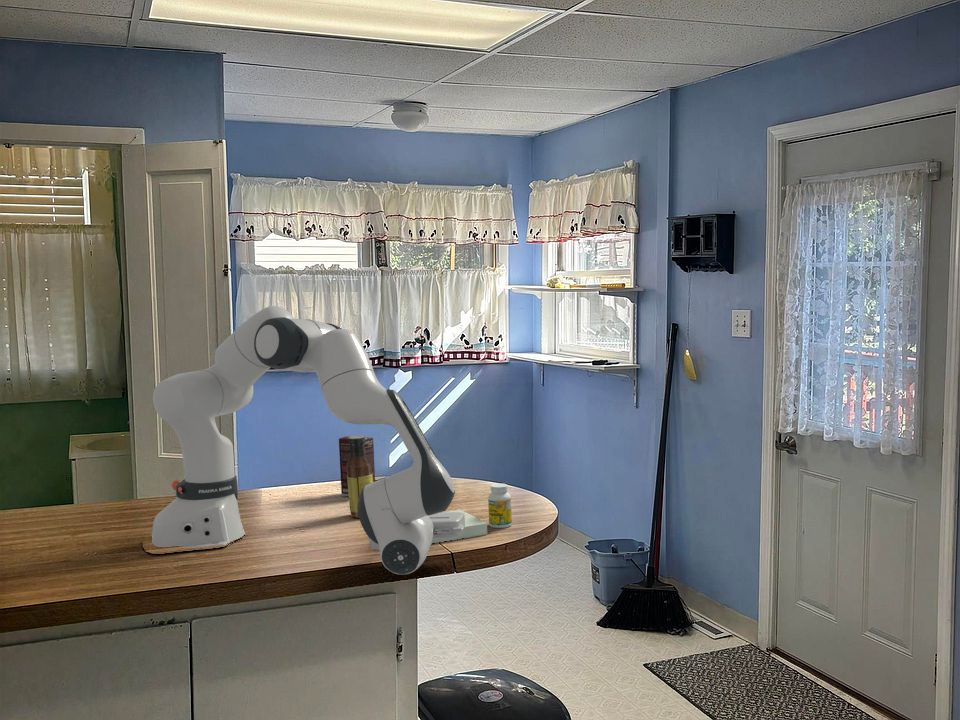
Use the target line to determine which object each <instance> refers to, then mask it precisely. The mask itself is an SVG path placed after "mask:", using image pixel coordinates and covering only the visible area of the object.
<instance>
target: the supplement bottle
mask: <svg viewBox="0 0 960 720" xmlns="http://www.w3.org/2000/svg"><path fill="white" fill-rule="evenodd" d="M508 487H509V485H508V484H506V483H500V482H499V483H493V484H490V489H489V490H490V492H491V493H489V495H488V497H487V504H488V505H487V506H488V507H487V508H488V524H489V527H491V528H494V529H505V528H509V527H511V526H512V523H513V516H512V514H513V513H512V496H511V494H510V493H509V492H508V491H509V489H508Z"/></svg>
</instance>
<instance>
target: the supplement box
mask: <svg viewBox="0 0 960 720" xmlns="http://www.w3.org/2000/svg"><path fill="white" fill-rule="evenodd" d="M352 436H353V435H352ZM352 436H351V435H347V436H342V437H340V438H338V447H339V448H338V450H339V454H338V455H339V469H340V470H339V471H340V488H341V489H340V490H341V491H340V492H341V496H342V495H343V496H342V497H347V496H348V497H347V498H349V493H348V481H347V462H348V460H349V458H350V444H349V441H348V438H349V437H352ZM364 437H365V451H366V456H367V458H368V459H369V461H370V463H371V469H372V476H373V482H375V481H376V469H375V451H374V449H375V446H374V437H366V436H364Z"/></svg>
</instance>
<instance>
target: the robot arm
mask: <svg viewBox="0 0 960 720" xmlns="http://www.w3.org/2000/svg"><path fill="white" fill-rule="evenodd" d="M270 369H275V370H284V371H290V372H294V373H296V372H297V373H315V374H316V375H317V378H318V382H319V386H320V390H321V392H322V395H323V398H324V401H325V405H326V406H327V408H328V410H329V412H330V413H331V414H332V415H333V416H334V417H335V418H336V419H338V420H340V421H342V422H345V423H347V424H348V423H349V424H351V425H387V426H390V427H393V428H395V430H396V432H397V434H398V435H399V437H400V438H401V440H402V443H403V444H404V446H405V448H406V449H407V451H408V453H409V455H410V457H411V458H412V460H413V463H412V465H411V467H409V468H406V469H403V470H401V471H399V472H396V473H394V474H391V475H389V476H385V477H383V478H380V479H378V480H375V482H373V483H371V484H368V485H366V486H364V487H363V489H362V491H361V493H360V496H359V500H358V505H357V509H358V516H359V518H358V519H359V521H360V524H361V527H362V529H363V531H364V532H365V534H366V535H367V538H368V542H369V547H370V549H371V550H375V551H379V557H380V560H381V563H382V564H383V566H384V568H385V569H387V570H388V571H389V572H391V573H393V574H396V575H401V576H402V575H410V574H411V573H413V572H415V571H416V570H418V569H419V568H420V567H421V566H423V563H424V562H425V560H426V558H427V556H428V554H429V550H430V548H431V545H432V544H431V543H432V540H433V538H454V537H458V536H460V535H461V534H462V532H463V531H464V529H465V515H464V513H461V512H449V511H447V510H448V508H449V507H450V505H451V503H452V501H453V499H454V497H455V494H456V491H455V486H454V483H453V480H452V477H451V475H450V474H449V472H448V471H447V470H446V468H445V467H444V466H443V464H442V463H441V462H440V460H439V459H438V457H437V455H436V453H435V451H434V450H433V448H432V446H431V445H430V443H429V441H428V440H427V438H426V436H425V434H424V432H423V430H422V429H421V427H420V424H419V423H418V422H417V420H416V419H415V417H414V414H413V413H412V412H411V410H410V408H409V406H408V405H407V404H406V402H405V401H404V399H403V398H402V397H401V395H399V393H398V392H396V391H395V390H394V389H389V388H386V387H384V386H383V385H382V384H381V382H380V381H379V380H378V378H377V376H376V373H375V371H374V368H373V364H372V362H371V360H370V358H369V355H368V354H367V351H366V349H365V347H364V346H363V344H362V342H361V340H360V339H359V337H358V335H357V334H356V333H355V332H353V331H352V330H348V329H344V328H342V327H340V326H338V325H335V324H333V323H326V322H321V321H319V320H318V321H317V320H314V319H307V318H305V319H302V318H295V317H294V316H293V315H292V314H291V312H290V311H289V310H287V309H286V308H283V307H281V306H278V305H270V306H267V307H264V308H263V309H261V310H259V311H257V312H256V313H254V314H253V315H251V316H250V317H249V318H247V319H246V320H245V321H244V322H243V323H241V324H240V325H239V326H238V327H237V328H236V329H235V330H234V331H233V332H232V333H231V334H230V335H228V337H227V338H225V340H224V341H222V343H220V345H219V346H218V347H217V348H216V349H215V352H214V364H213V365H212V366H210V367H207V368H205V369H200V370H195V371H188V372H182V373H176V374H175V375H174V374H173V375H171V376H169V377H166V378H165V379H164V380H163V379H162V380H161V381H159V382H158V383H157V384H156V387H155V388H154V390H153V394H152V403H153V404H152V405H153V408H154V409H155V412H156V414H157V416H158V417H160V418H161V420H163V421H164V422H166V423H167V424H169V425H170V426H171V428H172V429H173V430H174V433H175V434H176V436H177V439H178V441H179V444H180V448H181V454H182V461H183V462H182V463H183V464H182V465H183V476H184V479H183V480H181V481H179V480H177V479H175V480H172V482H171V488H172V489H173V490H174V491H175V496H176V497H175V498H174V499H173V500H172V501H171V502H169V504H168V505H166V506H165V507H164V508H163V509H162V510H161V511H159V512H158V513H157V514H156V516H155V517H154V520H153V523H152V529H151V535H152V543H153V544H154V545H155V546H157V547H171V546H183V547H185V548H190V547H191V548H195V547H206V546H208V547H209V546H219V545H226V544H227V543H229V542H230V541H233V540H236V539H238V538H240V537H242V536H243V535H244V534H245V535H246V531H245V530H244V526H243V523H242V520H241V515H240V511H239V504H238V499H239V484H238V477H237V475H236V474H235V473H236V472H235V458H234V456H235V455H234V445H233V442H232V441H231V439H230V438H228V437H227V436H225V435H223V434H221V433H220V431H219V429H218V426H217V423H216V417H220V416H221V417H222V416H225V415H230V414H233V413H235V412H237V411H239V410H241V409H243V408H245V407H246V406H248V405H249V404H250V403H251V400H252V399H253V397H254V384H255V383H256V382H257V380H259V379H260V378H261V377H262V376H264V374H265V373H266V372H267V371H269V370H270Z"/></svg>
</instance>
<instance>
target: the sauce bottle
mask: <svg viewBox="0 0 960 720" xmlns="http://www.w3.org/2000/svg"><path fill="white" fill-rule="evenodd" d="M365 437H366V436H364V435H352V437H349V438H348V441H349V444H350V458H349V460H348V462H347V481H348V493H349V497H348V505H349V511H350V515H351V517H352V518H354V517H355V519H359V516H358V509H357V505H358V500H359V496H360V493H361V491H362V489H363V487H364V486H366V485H368V484H371V483H373V476H372V469H371V463H370V461H369V459H368V458H367V456H366V451H365Z"/></svg>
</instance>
